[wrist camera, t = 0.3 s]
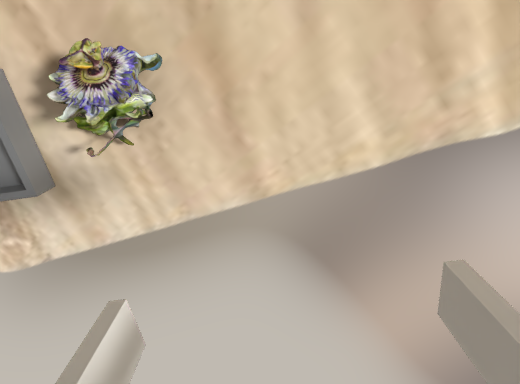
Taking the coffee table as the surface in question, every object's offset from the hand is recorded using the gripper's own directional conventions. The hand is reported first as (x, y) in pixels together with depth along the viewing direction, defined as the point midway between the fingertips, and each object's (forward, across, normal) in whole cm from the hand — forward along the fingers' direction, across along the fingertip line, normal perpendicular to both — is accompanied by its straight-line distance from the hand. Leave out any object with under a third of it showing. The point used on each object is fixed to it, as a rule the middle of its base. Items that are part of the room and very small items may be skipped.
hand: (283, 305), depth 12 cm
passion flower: (+28, -16, +8) cm, 33 cm away
